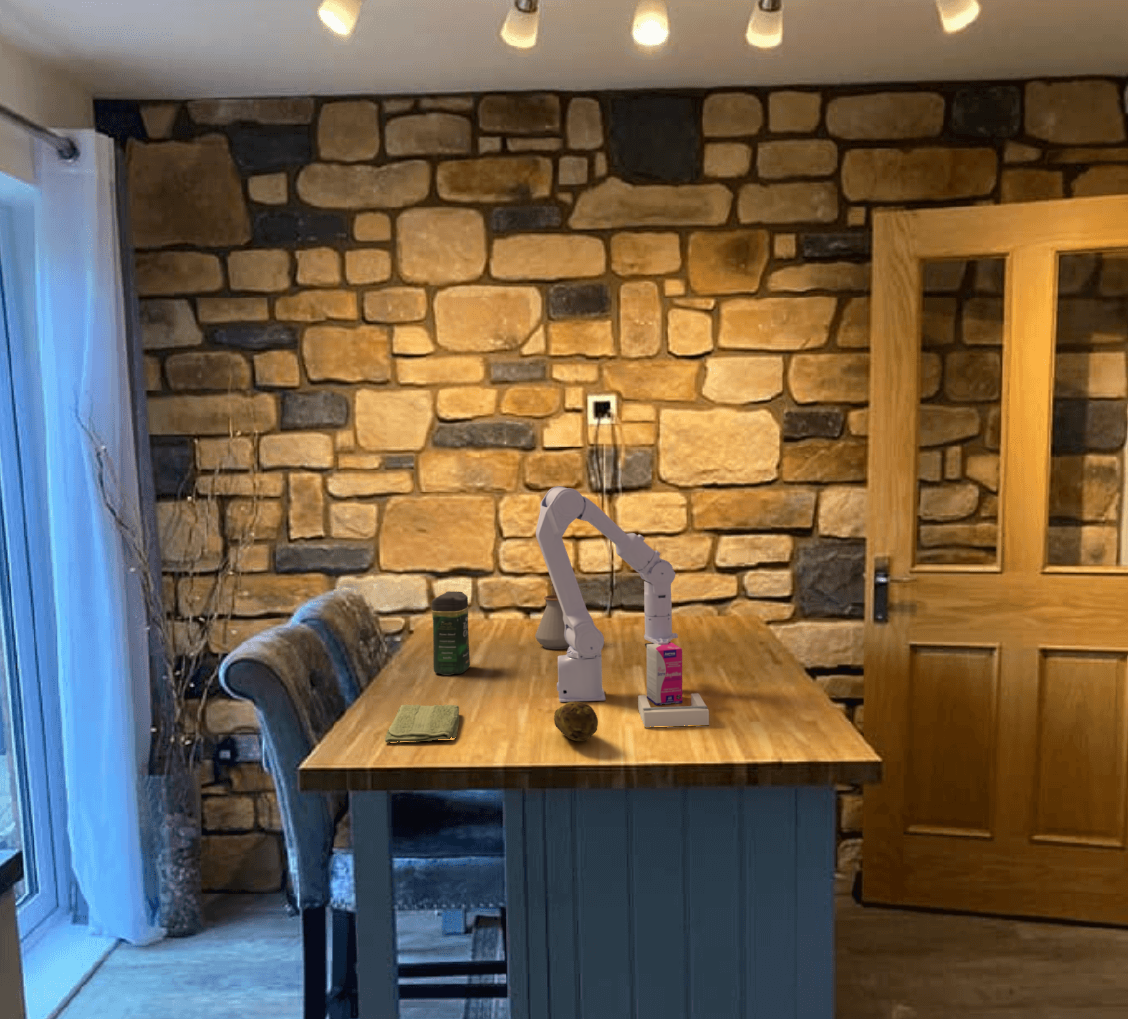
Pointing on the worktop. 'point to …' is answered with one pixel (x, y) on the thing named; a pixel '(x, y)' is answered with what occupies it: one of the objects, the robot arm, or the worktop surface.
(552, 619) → the coffee pot
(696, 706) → the dock
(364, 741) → the worktop surface
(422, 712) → the washcloth
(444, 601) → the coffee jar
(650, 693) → the supplement box
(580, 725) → the potato
